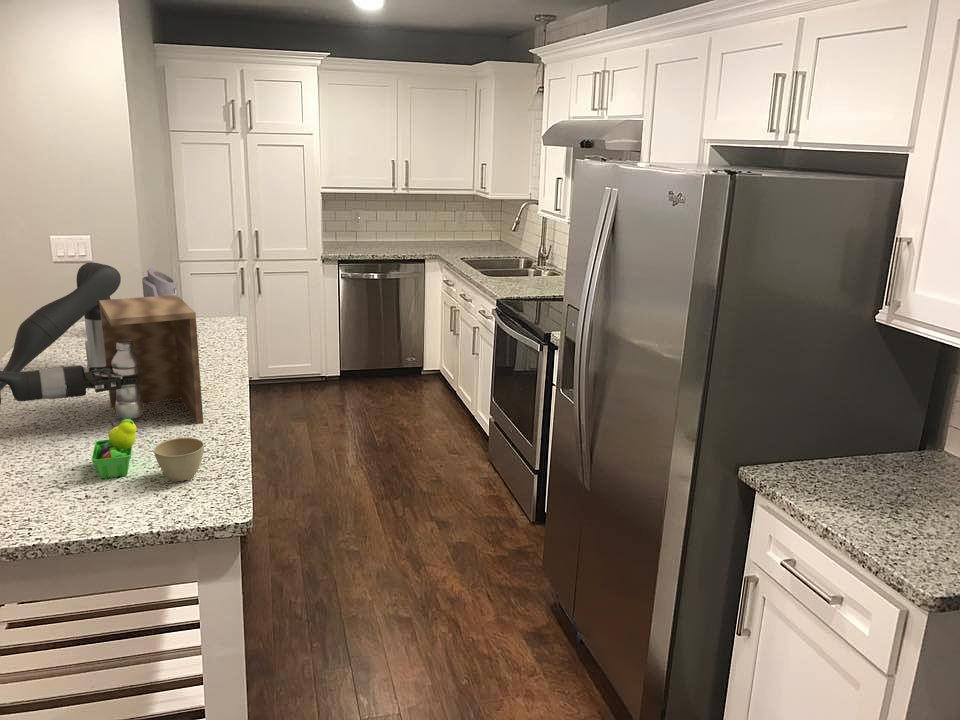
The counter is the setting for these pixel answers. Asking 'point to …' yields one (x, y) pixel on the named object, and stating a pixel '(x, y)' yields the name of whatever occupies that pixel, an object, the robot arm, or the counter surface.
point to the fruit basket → (115, 450)
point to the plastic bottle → (129, 395)
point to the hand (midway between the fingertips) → (137, 375)
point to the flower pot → (179, 457)
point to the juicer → (158, 284)
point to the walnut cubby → (157, 347)
